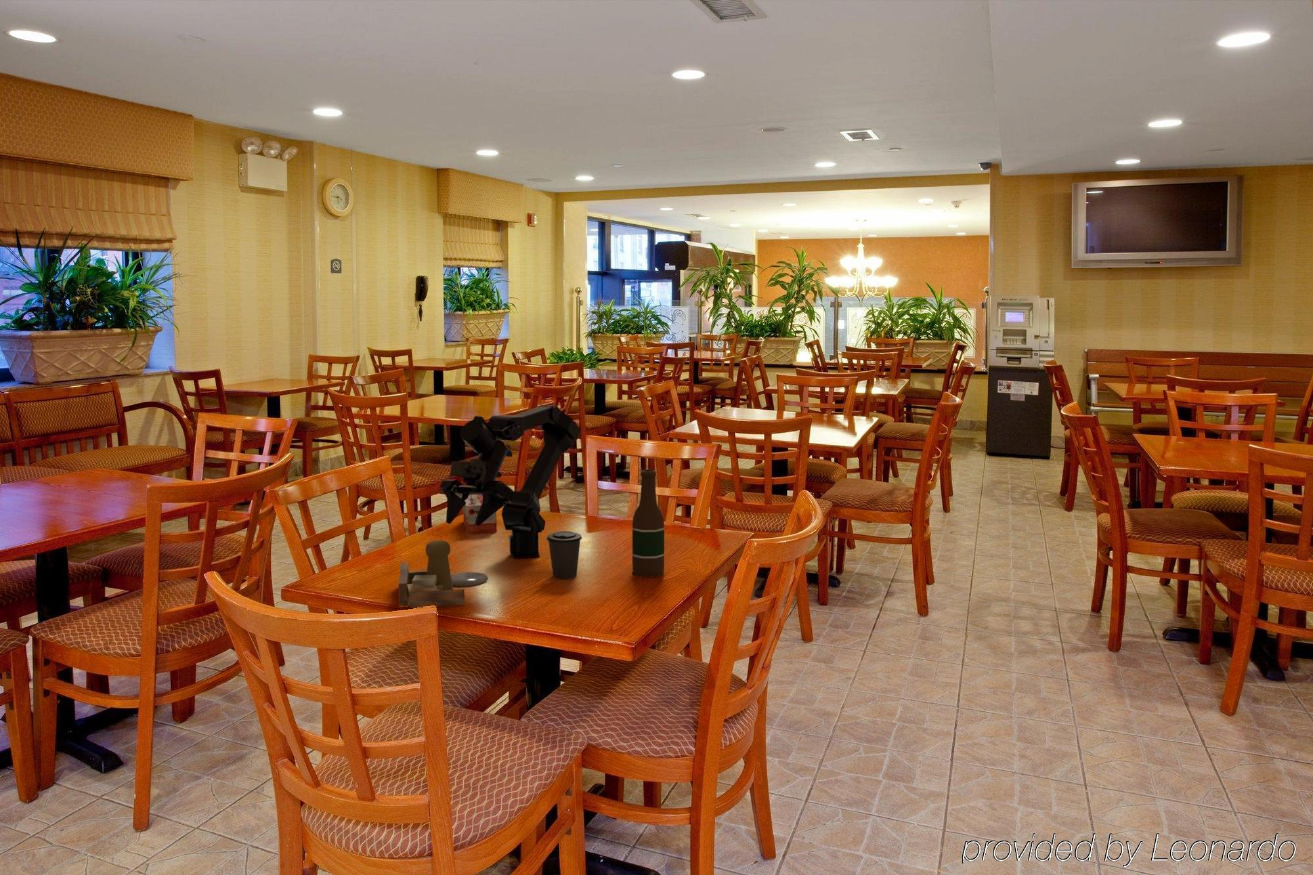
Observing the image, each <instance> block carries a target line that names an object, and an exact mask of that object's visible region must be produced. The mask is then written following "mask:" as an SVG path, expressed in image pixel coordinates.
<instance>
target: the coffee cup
mask: <svg viewBox="0 0 1313 875" xmlns="http://www.w3.org/2000/svg"><path fill="white" fill-rule="evenodd" d="M582 539H583V536H582V535H581V534H580V533H578V532H574V531H566V530H565V531H564V530H562V531H556V532H553V533H550V534H548V535H547V537H546V540H547V541H548V548H549V554H550V561H551V562H550V563H551V569H552V570H551V571H552V577H553V578H554V579H559V580H571V579H574V578H576V577H577V574H578V566H579V557H580V556H579V555H580V546H581V541H582Z"/></svg>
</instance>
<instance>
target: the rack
mask: <svg viewBox="0 0 1313 875" xmlns="http://www.w3.org/2000/svg"><path fill="white" fill-rule="evenodd" d="M436 583H437V576H436V575H427V569H425V570H424V569H422V570H409V562H405V561H404V562H400V568H399V578H398V600H399V601H398V602H399V605H398V606H399V607H400V606H410V607H409V609H410V608H416V609H418V608H417V607H422V606H431V605H435V606H437V607H436V608H442V607H441V606H445V607H457V606H459V605H460V606H465V605H466V602H465V601H466V599H465V589H464V588H461V589H460V588H459V589H453V590H443V585H440V586H436ZM438 606H440V607H438Z"/></svg>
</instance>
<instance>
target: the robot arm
mask: <svg viewBox="0 0 1313 875" xmlns="http://www.w3.org/2000/svg"><path fill="white" fill-rule="evenodd" d="M537 427H540V430H541V431H542V432H543V434H542V437H543V438H542V439H543V442H544V443H543V444H544V445H543V447H542V448H541V451H540V453H539V454H538V456H537V458H536V460H535V463H534V464H533V466H532V468H531V470H530V471H529V473H528V476H527V477H526V480H525V482H524V483H523V485H522V487H521V489H520V490H519V491H516V490H513V489H512V488H511V487H510V486H508V485H507V484H506V483H505V482H504V481H502V480H497V479H500V478H501V477H502V476H503V474H502V472H500V470H501V468H502V466H503V463H504V461H505V458H506V457H507V458H512V457H513V451H512V449H511V445H510V444H509V445H508V444H505V443H504V442H503V441H505V442H516V441H517V440H519V439H520V438H522V437H523V436H524V435H525V432H527V431H528V430H531V429H534V428H537ZM580 432H581V430H580V426H579V425H578V424H577V422H576V421H575V420H574V418H572V417H571V416H569V415H568V414H566V413H565V412H564V411H562V410H561V409H560V407H559V406H556V405H554V404H553V405H552V404H540V405H538V406H537V407H534V408H531V409H529V410H524V411H523V412H519V413H517V414H514V415H513V414H499V415H497V414H496V415H492V416H490V418H489V420H488V421H486V420H485V418H484V417H483V416H481V415H475V416H473V419H472V420H470V421H468V422H466V423H465V424H464V425H463V426H461V428H460V431H459V435H460V438H461V439H462V441H464V443H466V445H467V446H468V447H469V448H470V449H471V450H472V451H473V452H474V453H476V454H478V456H477V458H471V459H470V461H451V466H450V470H449V476H451V477H454V476H455V477H459V478H461V479H460V480H458V479H452V478H446V479H444V480H442V481H441V483H440V485H439V490H440V491H441V492H442V494H443V495H444V496H445V497H446V502H447V504H446V518H445V522H446V523H447V524H448V525H451V524H452V522H453V521H454V520H455V518H457V516H458V515H459V514H460V512H461V510H463V507H464V505H465V504H466V502H465V500H466V499H467V498H468V497H469V495H482V497H483V502H482V504H481V507H480V510H479V512H478V515H477V518H476V521H475V525H477V526H480V525H481V524H482V523H483V522H484V521H485V520H487V519H488V518H489V517H490V516H491V515H492V514H494V513H495V512H496V513H497V511H499V510H500V509H502V510H501V518H502V522H503V525H504V529H505V531H511V534H510V535H509V537H508V540H509V554H510V555H512V558H513V559H518V558H520V559H521V558H522V559H523V558H537V557H538V558H539V557H541V554H540V552H539V534H541V533H543V531H544V530H545V526H546V520H545V519H544V518H543V516H542V515H541V513H540V512H541V504H540V498H541V496H542V494H543V492H544V490H545V488H546V486H547V484H548V482H549V481H550V478H551V476H552V474H553V472H554V470H555V469H556V466H557V465H558V463H559V460H560V459H561V456H562V455H563V454H564V453H566V452H567V451H569V450H570V449H572V448H573V447H574V446H575V443H577V440H578V439H579V436H580ZM461 481H462V482H463V483H462V482H461ZM464 483H466V485H465V484H464Z"/></svg>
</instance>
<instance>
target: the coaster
mask: <svg viewBox="0 0 1313 875" xmlns="http://www.w3.org/2000/svg"><path fill="white" fill-rule="evenodd" d="M451 579H452V585H453V588H454V587H456V588H466V587H467V588H468V587H475V585H476V586H480V585H483V584H485V583H487V582H488V581H489V577H488V575H487V574H485V573H482V572H475V571H463V572H456V573H451ZM487 580H488V581H487ZM482 583H483V584H482Z"/></svg>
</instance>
